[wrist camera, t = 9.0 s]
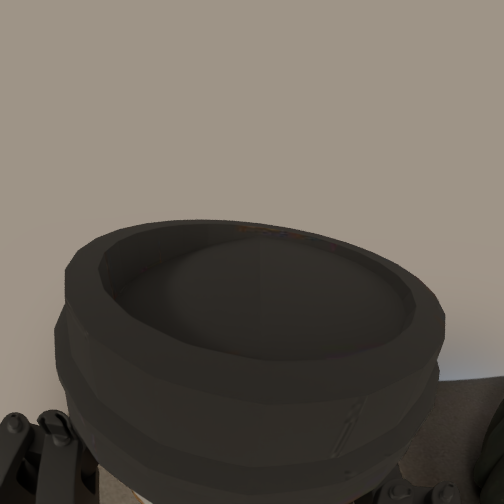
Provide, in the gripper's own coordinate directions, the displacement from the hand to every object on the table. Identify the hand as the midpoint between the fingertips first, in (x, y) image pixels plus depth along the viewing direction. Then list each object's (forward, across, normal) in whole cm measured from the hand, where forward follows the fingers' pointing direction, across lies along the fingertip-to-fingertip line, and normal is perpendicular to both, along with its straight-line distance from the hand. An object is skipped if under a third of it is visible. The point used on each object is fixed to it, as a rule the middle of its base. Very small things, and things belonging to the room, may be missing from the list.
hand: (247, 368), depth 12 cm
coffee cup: (-5, 0, -8) cm, 10 cm away
